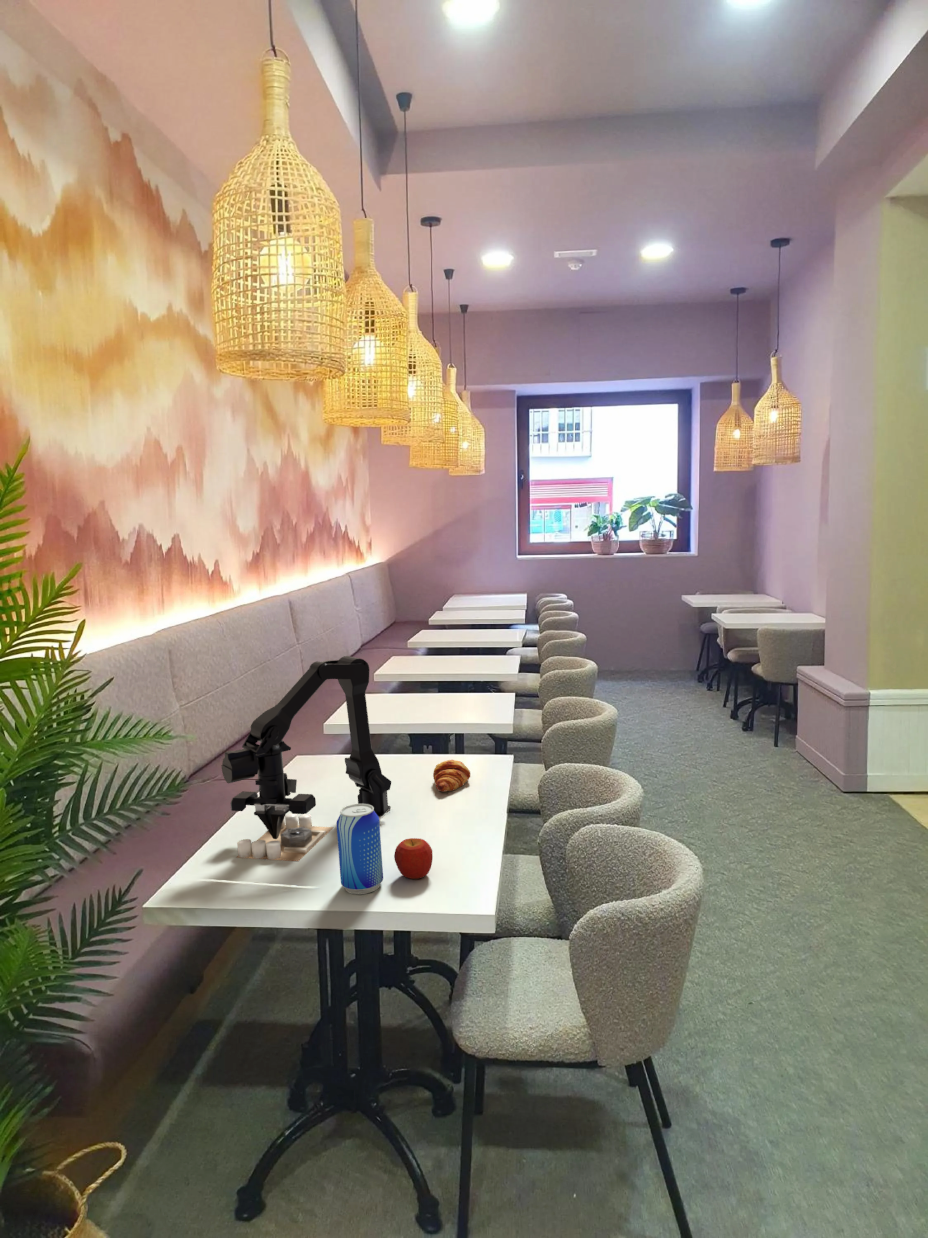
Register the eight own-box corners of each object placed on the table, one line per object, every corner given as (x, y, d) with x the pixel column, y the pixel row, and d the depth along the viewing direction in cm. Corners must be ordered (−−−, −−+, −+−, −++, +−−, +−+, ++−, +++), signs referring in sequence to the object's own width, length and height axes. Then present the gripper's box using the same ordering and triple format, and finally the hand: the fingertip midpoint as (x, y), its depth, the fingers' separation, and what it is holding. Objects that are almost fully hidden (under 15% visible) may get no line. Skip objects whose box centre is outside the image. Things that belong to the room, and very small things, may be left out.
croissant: (451, 782, 235) (437, 758, 235) (481, 766, 232) (467, 742, 232) (433, 807, 214) (418, 780, 214) (465, 790, 212) (450, 763, 212)
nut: (315, 837, 189) (314, 827, 189) (302, 849, 182) (301, 839, 182) (291, 836, 190) (290, 825, 190) (277, 848, 184) (276, 837, 184)
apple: (403, 888, 162) (400, 850, 161) (390, 873, 169) (388, 836, 168) (439, 879, 165) (437, 842, 164) (425, 864, 172) (423, 829, 171)
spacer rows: (314, 826, 196) (313, 814, 195) (277, 860, 177) (276, 846, 177) (276, 824, 198) (275, 812, 198) (235, 857, 180) (234, 844, 180)
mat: (333, 829, 194) (333, 824, 194) (298, 863, 176) (298, 857, 176) (276, 826, 198) (275, 821, 198) (235, 859, 180) (235, 853, 180)
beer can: (365, 899, 158) (360, 820, 156) (332, 891, 162) (326, 813, 160) (392, 882, 165) (386, 805, 163) (359, 874, 169) (354, 799, 167)
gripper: (323, 763, 191) (327, 827, 193) (250, 760, 196) (256, 823, 198) (302, 778, 180) (307, 846, 182) (226, 775, 185) (232, 841, 187)
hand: (275, 838), depth 188 cm, fingers closed
